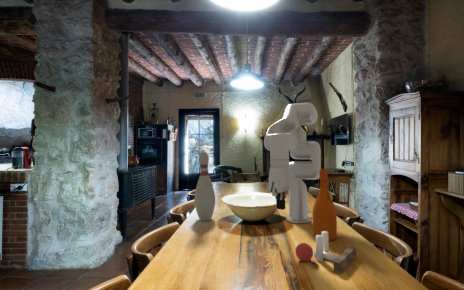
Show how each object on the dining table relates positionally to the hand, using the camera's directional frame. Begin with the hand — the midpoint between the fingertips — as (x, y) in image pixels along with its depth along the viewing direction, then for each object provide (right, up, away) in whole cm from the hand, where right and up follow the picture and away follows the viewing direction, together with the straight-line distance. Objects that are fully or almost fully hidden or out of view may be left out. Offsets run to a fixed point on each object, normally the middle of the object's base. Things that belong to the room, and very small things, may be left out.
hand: (280, 208), depth 104 cm
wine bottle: (+21, -15, +7) cm, 26 cm away
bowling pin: (-35, -16, +39) cm, 55 cm away
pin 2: (+15, -15, -9) cm, 23 cm away
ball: (+6, -12, -13) cm, 19 cm away
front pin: (+11, -14, -10) cm, 20 cm away
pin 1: (+11, -15, -13) cm, 23 cm away
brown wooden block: (+19, -15, -17) cm, 29 cm away
